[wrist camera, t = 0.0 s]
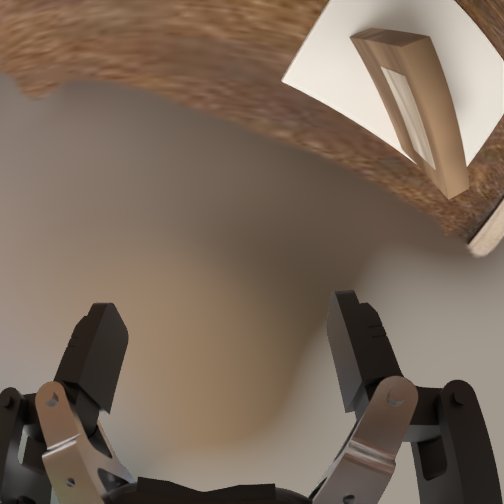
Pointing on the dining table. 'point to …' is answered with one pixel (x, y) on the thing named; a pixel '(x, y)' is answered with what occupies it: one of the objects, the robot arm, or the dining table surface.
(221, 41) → the dining table surface
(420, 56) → the slab
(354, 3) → the mat
